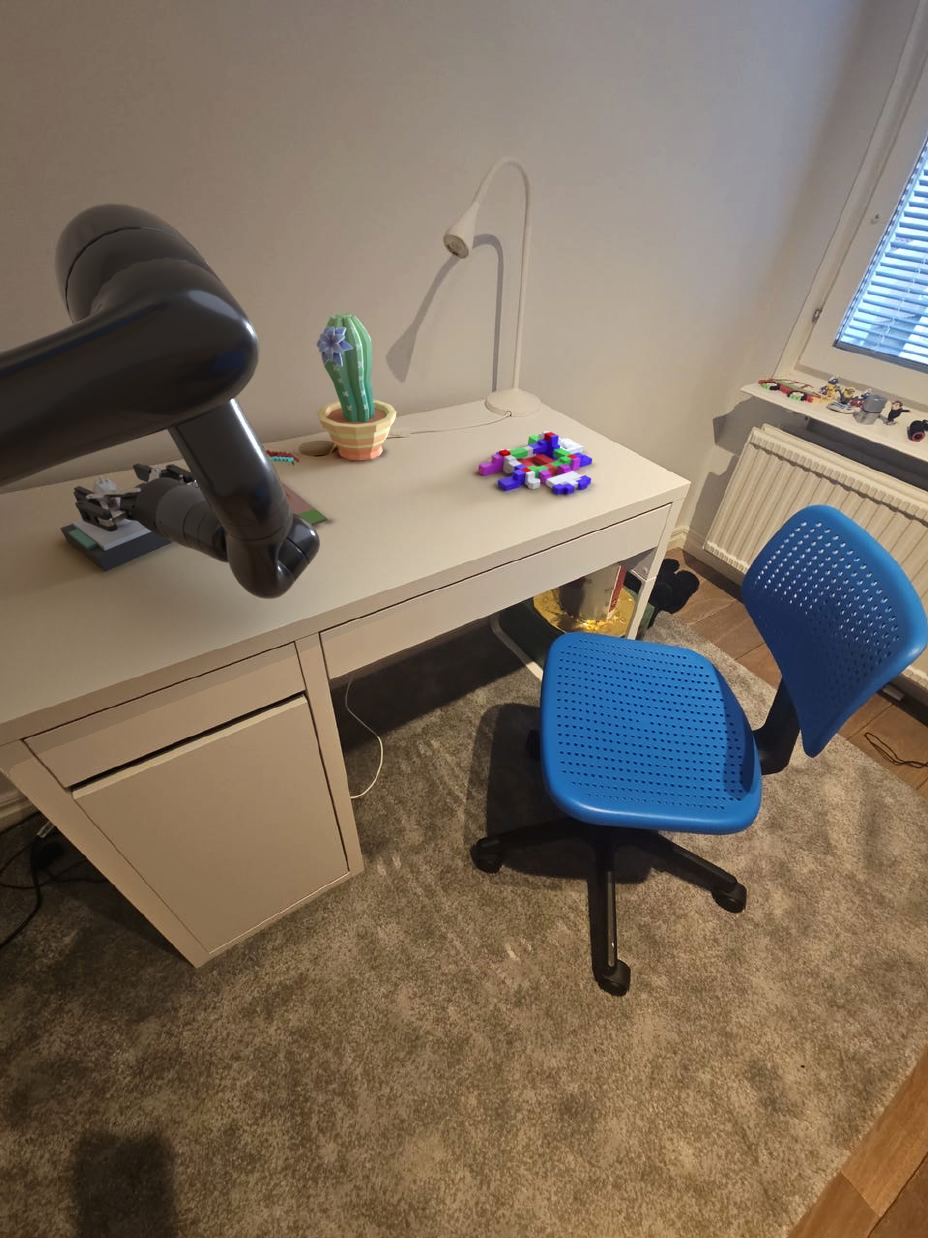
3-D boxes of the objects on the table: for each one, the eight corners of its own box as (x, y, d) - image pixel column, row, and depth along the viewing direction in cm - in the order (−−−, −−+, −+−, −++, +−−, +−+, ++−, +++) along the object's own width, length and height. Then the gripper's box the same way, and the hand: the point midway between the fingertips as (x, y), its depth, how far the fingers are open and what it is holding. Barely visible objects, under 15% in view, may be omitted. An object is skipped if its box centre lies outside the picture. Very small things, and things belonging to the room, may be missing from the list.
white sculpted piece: (106, 536, 78) (83, 486, 73) (92, 519, 82) (69, 469, 77) (145, 524, 81) (125, 475, 76) (130, 507, 85) (110, 459, 80)
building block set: (529, 507, 96) (532, 483, 93) (464, 463, 108) (465, 441, 105) (626, 474, 107) (631, 452, 104) (557, 438, 119) (560, 418, 116)
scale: (104, 571, 77) (95, 553, 75) (67, 541, 83) (57, 523, 81) (182, 537, 85) (176, 520, 83) (143, 512, 90) (136, 494, 88)
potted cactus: (309, 446, 112) (287, 310, 96) (375, 430, 119) (364, 302, 103) (344, 474, 103) (326, 329, 87) (412, 455, 110) (407, 318, 94)
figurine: (277, 480, 100) (261, 401, 91) (327, 520, 90) (314, 435, 80) (201, 503, 93) (175, 419, 83) (246, 549, 83) (221, 459, 73)
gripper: (222, 467, 72) (145, 439, 78) (122, 511, 62) (43, 475, 68) (235, 517, 77) (162, 486, 83) (145, 565, 67) (70, 526, 73)
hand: (108, 481), depth 76 cm, fingers open, 8 cm apart
